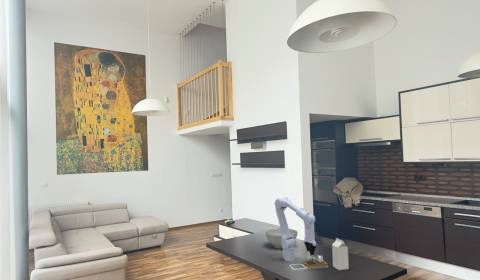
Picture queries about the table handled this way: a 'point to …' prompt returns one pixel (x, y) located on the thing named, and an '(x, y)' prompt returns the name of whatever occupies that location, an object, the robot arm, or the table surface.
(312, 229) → the robot arm
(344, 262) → the milk carton
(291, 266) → the square tray
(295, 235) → the decorative bowl
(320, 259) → the cylinder
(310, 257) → the cylinder
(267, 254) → the table surface
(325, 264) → the wooden compartment tray
